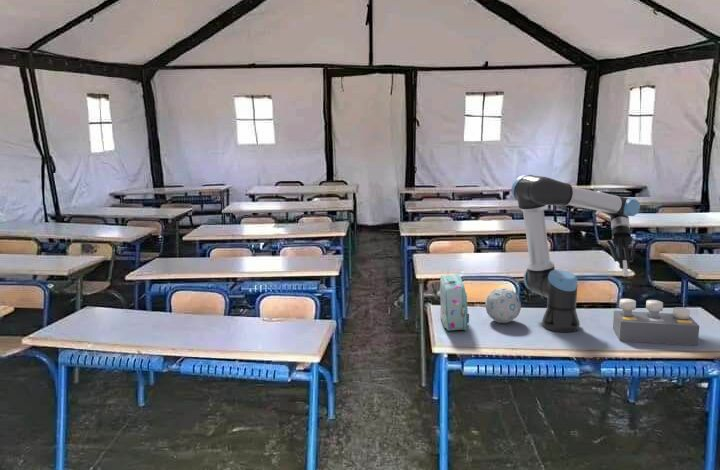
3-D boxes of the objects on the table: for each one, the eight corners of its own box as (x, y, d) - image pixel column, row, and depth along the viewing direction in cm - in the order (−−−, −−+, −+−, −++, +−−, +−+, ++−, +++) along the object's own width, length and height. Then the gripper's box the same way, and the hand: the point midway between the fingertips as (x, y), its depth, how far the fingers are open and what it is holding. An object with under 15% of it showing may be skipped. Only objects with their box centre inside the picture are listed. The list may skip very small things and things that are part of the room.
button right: (673, 330, 228) (675, 311, 226) (669, 325, 233) (671, 306, 232) (690, 331, 226) (692, 312, 225) (685, 326, 232) (687, 307, 230)
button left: (620, 321, 232) (621, 302, 230) (617, 316, 237) (618, 298, 236) (636, 322, 230) (637, 303, 229) (632, 317, 236) (634, 299, 235)
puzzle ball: (483, 325, 247) (484, 292, 245) (487, 314, 261) (487, 283, 259) (519, 329, 243) (520, 295, 240) (521, 317, 257) (522, 285, 254)
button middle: (646, 323, 229) (648, 303, 228) (643, 318, 235) (644, 299, 234) (663, 323, 228) (664, 304, 227) (659, 319, 234) (660, 300, 232)
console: (619, 340, 227) (620, 321, 226) (612, 328, 241) (613, 310, 239) (697, 345, 221) (699, 325, 219) (686, 333, 234) (687, 313, 233)
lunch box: (470, 335, 237) (471, 285, 233) (445, 335, 237) (445, 285, 233) (460, 314, 263) (461, 269, 259) (438, 314, 263) (438, 269, 259)
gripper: (634, 234, 257) (640, 280, 244) (603, 233, 260) (607, 278, 247) (638, 225, 251) (644, 271, 238) (606, 224, 254) (610, 269, 241)
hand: (625, 274), depth 242 cm, fingers closed
